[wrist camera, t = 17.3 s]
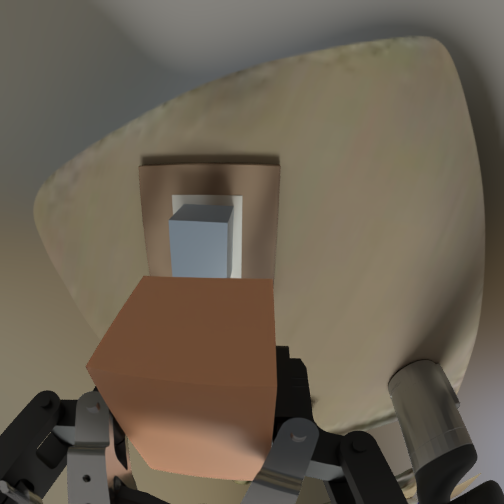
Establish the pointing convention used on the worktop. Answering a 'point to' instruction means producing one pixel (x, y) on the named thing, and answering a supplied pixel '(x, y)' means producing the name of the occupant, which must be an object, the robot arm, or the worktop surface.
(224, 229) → the slate brick
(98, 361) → the terracotta brick
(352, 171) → the worktop surface
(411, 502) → the bust
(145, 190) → the plate
